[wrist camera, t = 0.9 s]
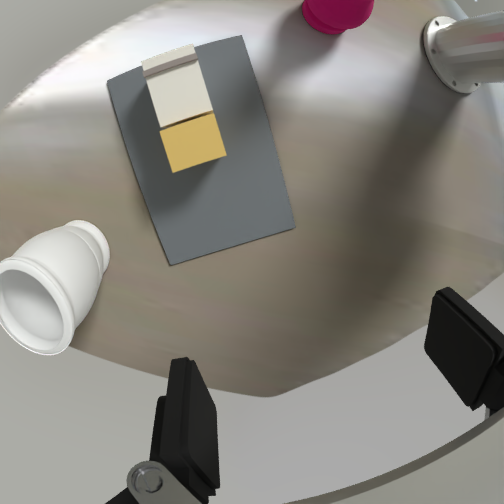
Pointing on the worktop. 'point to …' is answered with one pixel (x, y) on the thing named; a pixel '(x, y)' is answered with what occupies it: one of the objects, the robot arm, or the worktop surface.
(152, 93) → the ticket
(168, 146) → the stub
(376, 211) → the worktop surface
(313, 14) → the pepper mill
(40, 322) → the jar
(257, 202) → the mat
